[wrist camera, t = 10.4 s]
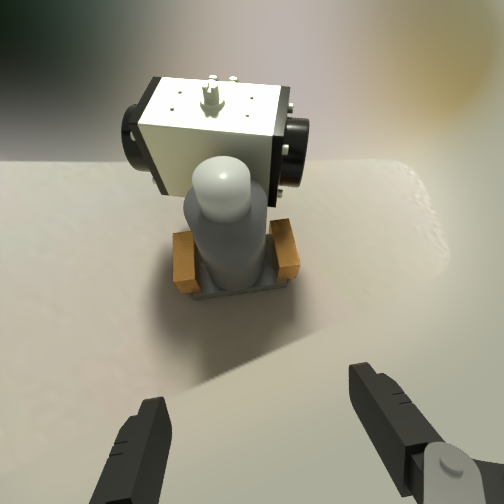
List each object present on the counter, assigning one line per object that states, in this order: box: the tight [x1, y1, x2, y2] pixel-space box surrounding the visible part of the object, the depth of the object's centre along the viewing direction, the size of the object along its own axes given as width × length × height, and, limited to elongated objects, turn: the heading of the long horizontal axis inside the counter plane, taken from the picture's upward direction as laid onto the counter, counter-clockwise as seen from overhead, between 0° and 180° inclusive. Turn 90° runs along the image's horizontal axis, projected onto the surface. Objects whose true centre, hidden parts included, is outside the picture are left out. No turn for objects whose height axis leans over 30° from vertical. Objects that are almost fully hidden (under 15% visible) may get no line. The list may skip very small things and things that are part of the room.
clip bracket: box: [173, 219, 300, 300], centre depth 21 cm, size 9×5×4 cm, turn 98°
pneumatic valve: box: [121, 75, 309, 207], centre depth 20 cm, size 6×12×12 cm, turn 81°
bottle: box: [183, 156, 267, 291], centre depth 17 cm, size 5×5×10 cm
